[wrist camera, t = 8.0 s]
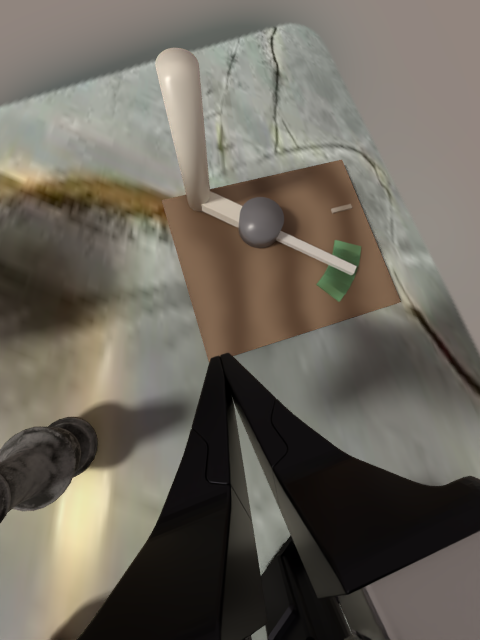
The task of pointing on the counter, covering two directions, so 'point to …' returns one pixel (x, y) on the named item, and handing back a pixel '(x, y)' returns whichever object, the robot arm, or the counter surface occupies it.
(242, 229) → the crank handle
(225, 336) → the dial plate
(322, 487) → the robot arm
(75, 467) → the salt shaker
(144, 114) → the counter surface
